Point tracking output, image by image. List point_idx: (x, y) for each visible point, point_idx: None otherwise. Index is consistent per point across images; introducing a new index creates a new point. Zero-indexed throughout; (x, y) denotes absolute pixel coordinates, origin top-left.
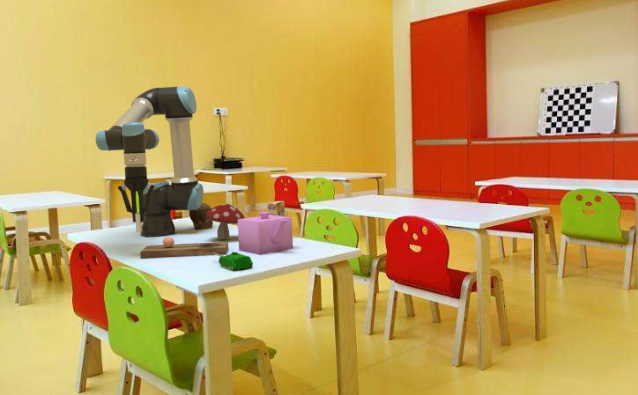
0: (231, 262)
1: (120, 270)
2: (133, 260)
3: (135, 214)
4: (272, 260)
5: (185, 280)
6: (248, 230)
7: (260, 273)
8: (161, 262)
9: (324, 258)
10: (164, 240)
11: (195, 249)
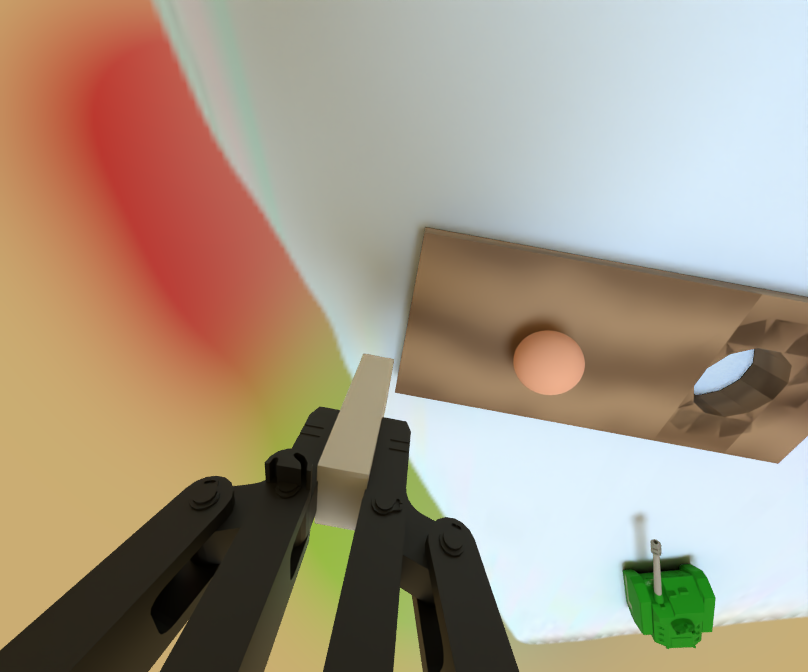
0: (639, 628)
1: None
2: None
3: (318, 516)
4: (803, 567)
5: (502, 616)
6: None
7: None
8: (472, 461)
9: None
10: (524, 384)
11: (638, 436)
